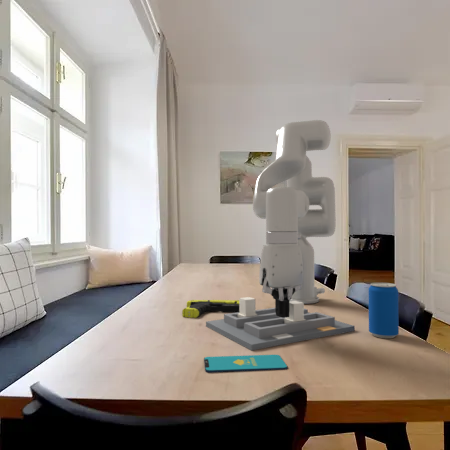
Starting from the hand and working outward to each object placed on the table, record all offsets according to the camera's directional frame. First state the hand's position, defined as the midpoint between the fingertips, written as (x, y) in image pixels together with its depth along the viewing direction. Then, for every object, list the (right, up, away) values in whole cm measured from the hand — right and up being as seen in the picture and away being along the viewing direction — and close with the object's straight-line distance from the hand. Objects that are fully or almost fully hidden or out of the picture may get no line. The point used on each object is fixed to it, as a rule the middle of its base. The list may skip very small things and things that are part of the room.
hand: (282, 316), depth 89 cm
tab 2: (+3, -3, +2) cm, 5 cm away
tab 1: (-8, -3, +7) cm, 11 cm away
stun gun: (-17, -5, +24) cm, 30 cm away
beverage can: (+24, -5, -1) cm, 24 cm away
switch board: (0, -4, +6) cm, 7 cm away
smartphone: (-10, -5, -19) cm, 22 cm away
